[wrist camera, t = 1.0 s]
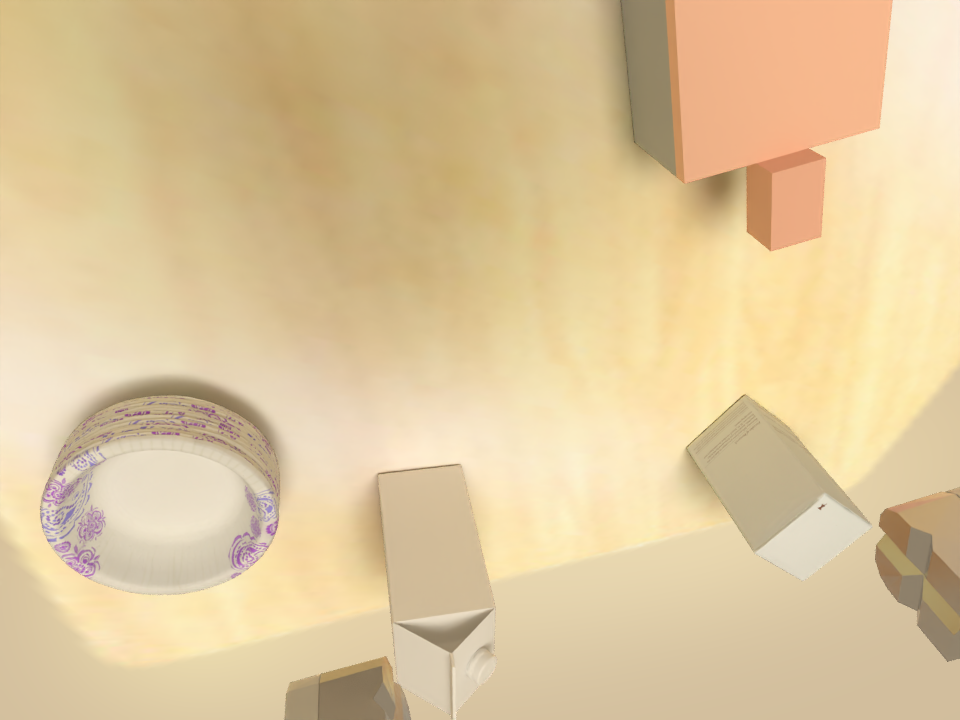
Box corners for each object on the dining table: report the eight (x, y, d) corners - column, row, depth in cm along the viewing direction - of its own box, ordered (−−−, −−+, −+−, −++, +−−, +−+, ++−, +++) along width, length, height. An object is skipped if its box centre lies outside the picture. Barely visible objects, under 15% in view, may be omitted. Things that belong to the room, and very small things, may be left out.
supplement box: (683, 447, 66) (751, 553, 55) (745, 391, 63) (828, 491, 53) (730, 479, 69) (802, 584, 59) (790, 427, 67) (877, 528, 57)
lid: (656, -143, 34) (682, -145, 32) (897, -208, 34) (941, -215, 32) (680, 250, 46) (701, 271, 44) (859, 198, 46) (889, 216, 44)
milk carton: (382, 532, 65) (402, 739, 49) (377, 472, 61) (397, 676, 45) (461, 522, 66) (505, 721, 50) (461, 462, 62) (509, 659, 46)
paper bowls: (294, 509, 61) (291, 584, 55) (103, 532, 59) (76, 613, 52) (267, 358, 53) (259, 425, 46) (42, 379, 51) (1, 452, 44)
